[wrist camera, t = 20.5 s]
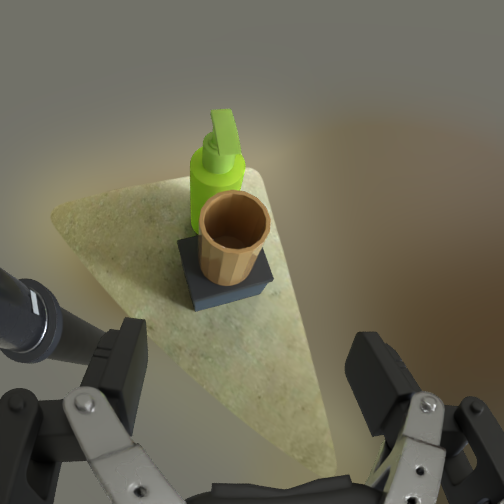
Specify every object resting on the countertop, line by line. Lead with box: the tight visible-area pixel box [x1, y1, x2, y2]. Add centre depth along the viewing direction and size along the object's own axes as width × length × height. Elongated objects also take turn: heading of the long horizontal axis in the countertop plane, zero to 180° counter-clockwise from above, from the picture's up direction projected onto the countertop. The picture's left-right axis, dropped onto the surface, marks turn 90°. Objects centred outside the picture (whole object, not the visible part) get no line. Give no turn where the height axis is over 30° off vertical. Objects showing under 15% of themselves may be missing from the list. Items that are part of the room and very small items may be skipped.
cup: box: [198, 190, 271, 286], centre depth 32 cm, size 6×6×10 cm
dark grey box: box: [177, 235, 274, 312], centre depth 39 cm, size 9×7×7 cm
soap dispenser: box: [190, 109, 245, 235], centre depth 36 cm, size 6×7×20 cm
